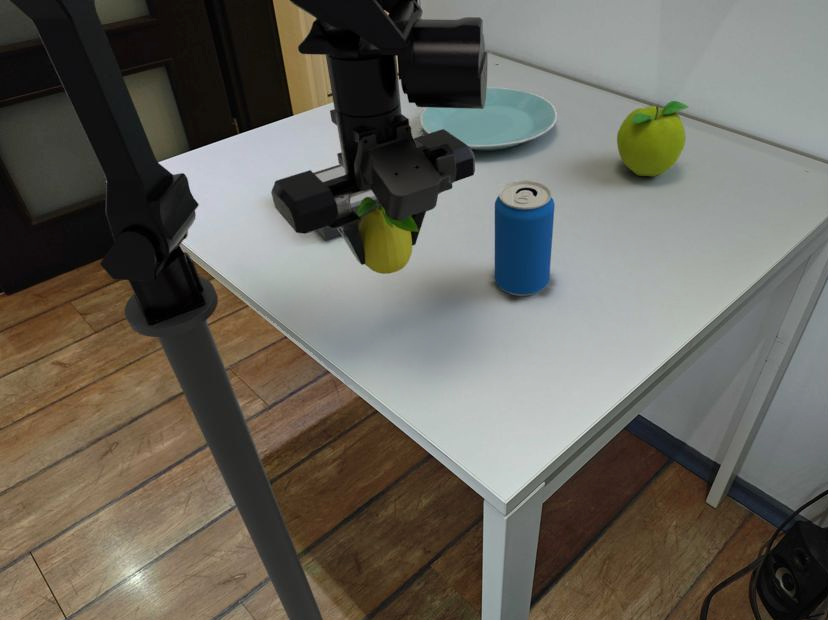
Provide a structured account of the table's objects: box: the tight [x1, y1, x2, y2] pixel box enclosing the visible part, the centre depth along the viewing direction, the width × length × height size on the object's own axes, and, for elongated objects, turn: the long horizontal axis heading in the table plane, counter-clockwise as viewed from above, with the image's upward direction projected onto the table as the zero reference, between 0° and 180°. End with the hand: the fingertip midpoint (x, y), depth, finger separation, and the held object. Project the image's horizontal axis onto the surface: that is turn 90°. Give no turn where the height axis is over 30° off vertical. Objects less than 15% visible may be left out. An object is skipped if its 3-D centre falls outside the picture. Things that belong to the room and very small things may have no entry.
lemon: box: [357, 197, 418, 275], centre depth 67 cm, size 7×6×10 cm
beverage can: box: [494, 180, 556, 297], centre depth 75 cm, size 6×6×12 cm
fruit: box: [616, 100, 689, 177], centre depth 95 cm, size 9×9×10 cm
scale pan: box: [316, 166, 377, 208], centre depth 92 cm, size 10×10×2 cm
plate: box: [419, 86, 558, 151], centre depth 108 cm, size 22×22×3 cm
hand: (386, 253), depth 68 cm, fingers closed on lemon, 5 cm apart
